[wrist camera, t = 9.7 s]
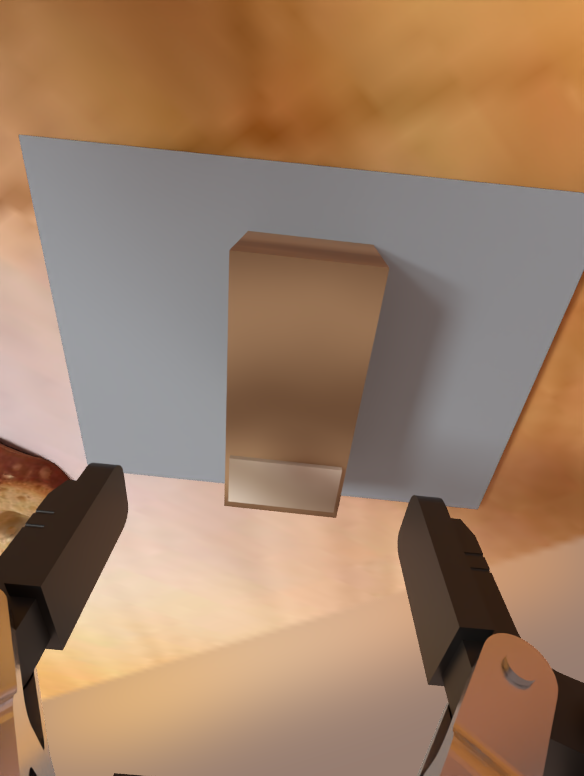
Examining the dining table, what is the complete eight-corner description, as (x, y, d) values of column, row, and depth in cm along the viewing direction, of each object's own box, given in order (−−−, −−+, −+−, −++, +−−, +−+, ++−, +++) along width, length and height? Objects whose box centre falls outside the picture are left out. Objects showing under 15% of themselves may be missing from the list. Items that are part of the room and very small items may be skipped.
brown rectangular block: (247, 230, 16) (227, 251, 12) (373, 244, 16) (390, 269, 12) (239, 449, 21) (223, 508, 18) (332, 459, 21) (336, 521, 18)
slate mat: (93, 462, 23) (88, 469, 23) (28, 135, 15) (18, 134, 15) (473, 501, 23) (477, 509, 23) (605, 195, 15) (616, 196, 15)
